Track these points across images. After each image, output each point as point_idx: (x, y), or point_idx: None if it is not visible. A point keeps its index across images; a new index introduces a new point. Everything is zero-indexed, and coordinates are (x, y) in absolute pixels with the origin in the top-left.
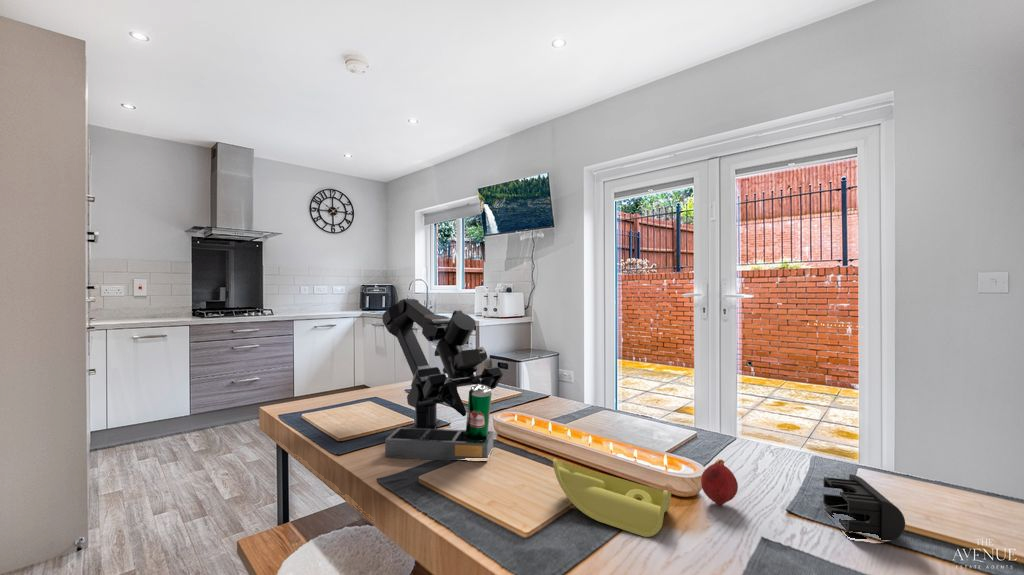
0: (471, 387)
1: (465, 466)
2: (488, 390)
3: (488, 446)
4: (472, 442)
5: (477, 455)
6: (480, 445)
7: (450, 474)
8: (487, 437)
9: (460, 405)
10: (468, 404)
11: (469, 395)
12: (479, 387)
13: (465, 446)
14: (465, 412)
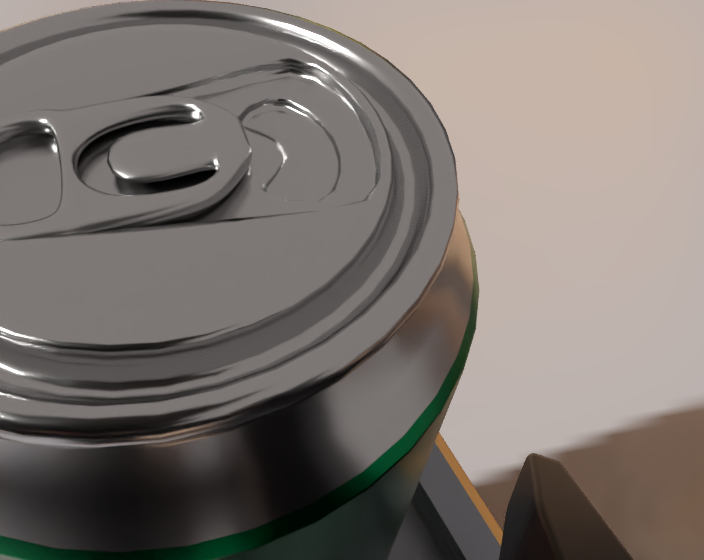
0: (344, 343)
1: (520, 466)
2: (152, 11)
3: None
4: (427, 465)
5: None
6: None
7: (681, 458)
8: None
9: (625, 556)
10: (398, 522)
11: (444, 413)
12: (130, 196)
13: (484, 507)
14: (545, 459)
